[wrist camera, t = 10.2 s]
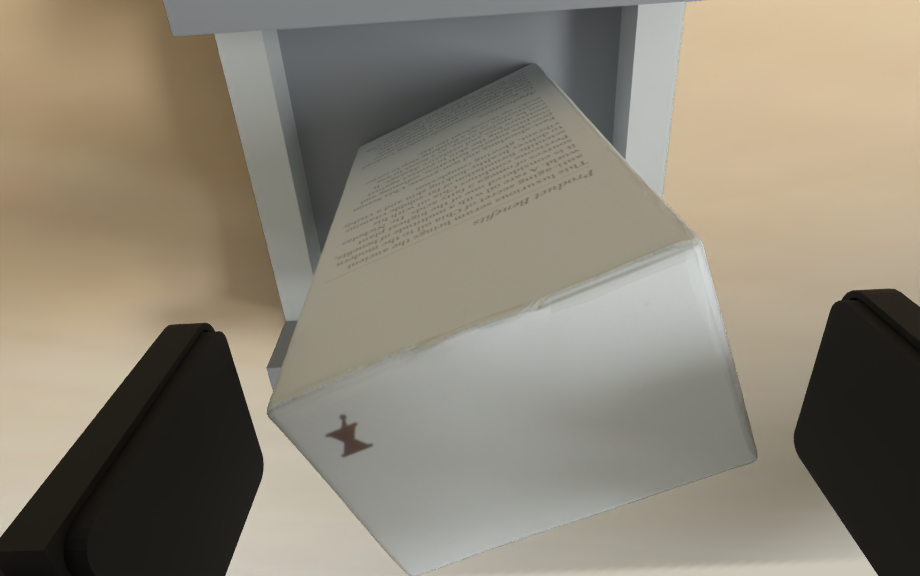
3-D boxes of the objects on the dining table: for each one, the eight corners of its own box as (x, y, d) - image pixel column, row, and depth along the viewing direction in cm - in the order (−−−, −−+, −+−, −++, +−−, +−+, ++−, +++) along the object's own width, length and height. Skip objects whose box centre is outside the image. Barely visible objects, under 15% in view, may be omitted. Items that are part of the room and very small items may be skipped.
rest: (663, -98, 16) (746, -114, 12) (624, 307, 23) (668, 393, 18) (222, -67, 16) (142, -73, 12) (311, 328, 23) (281, 419, 18)
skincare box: (419, 256, 20) (399, 588, 10) (356, 144, 18) (245, 413, 8) (588, 182, 19) (771, 470, 9) (541, 54, 17) (705, 226, 7)
